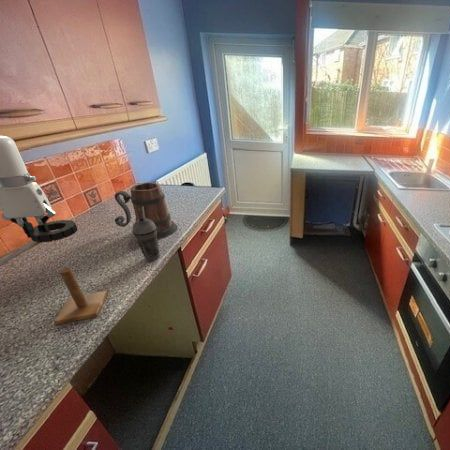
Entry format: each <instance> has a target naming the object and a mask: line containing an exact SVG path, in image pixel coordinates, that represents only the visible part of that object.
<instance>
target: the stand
mask: <svg viewBox="0 0 450 450" xmlns="http://www.w3.org/2000/svg"><path fill="white" fill-rule="evenodd" d="M58 272H59V276H61V279H62V280H63V282H64V285H65V286H66V289H67V290H68V292H69V294H70V296H69V297H68V298H67V300H66V302H65V303H64V305H63V307H62V308H61V310H60V311H59V313H58V314H57V316H56V317H55V319H54V321H53V322H54V324H55V325H61V324H66V323H71V322H72V323H73V322H77V321H81V320H86V319H92V318H97V317H99V315H100V312H101V310H102V308H103V305H104V303H105V301H106V299H107V297H108V294H109V293H108V290H103V291H97V292H91V293H85V294H83V291H82V289H81V287H80V285H79V282H78V281H77V278H76V277H75V275H74V273H73V271H72V268H71V267H65V268H62V269H60V270H59V271H58Z"/></svg>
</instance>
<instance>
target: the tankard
mask: <svg viewBox="0 0 450 450" xmlns="http://www.w3.org/2000/svg"><path fill="white" fill-rule="evenodd" d="M120 195H121V196H122V198H121V196H120ZM114 200H115V201H116V202H117V204H118V205H119V207H121V208H122V209H123V211H124V213H125V217H126V220H125V217H124V216H123V215H119V216H117V217H116V218H114V223H115V225H117V226H118V227H120V228H121V227H122V228H124V227H127V226H128V225H129V224H130V223H131V220H132V215H131V211H130V208H129V207H128V205H127V204H128V203H129V202H130V201H131V204H132V207H133V211H134V215H135V222H136V221H137V220H139V219H143V212H142V207H144V214H145V219H149V220H151V221H152V222H154V224H155V225H156V227H157V240H159V239H160V240H161V239H164V238H167V237H169V236H171V235H173V234H174V233H176V232H177V231H178V229H177V226H178V224H177V223H175V222H174V221H173V220H172V216H171V213H170V212H169V208H168V205H167V202H166V195H165V193H164V192H163V190H162V188H161V186H160V184H159V183H156V182H143V183H140V184H135V185H132V186H130V194H129V192H126V191H124V190H120V191H117V192H116V193H115V194H114ZM176 224H177V225H176Z"/></svg>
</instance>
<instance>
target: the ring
mask: <svg viewBox="0 0 450 450" xmlns="http://www.w3.org/2000/svg"><path fill="white" fill-rule="evenodd" d="M46 223H47V225H48V228H49V232H40V231H39V230H38V227H37V226H38V225H35V226H33V227H34V228H32V229H31V230H29V235H30V237H31V238H30V239H31V241H32V242H35V243H51V242H55V241H59V240H63V239H65V238H68V237H70V236H73V235H74V234H76V232H78V226H77V224H76V222H75V221H74V220H71V219H61V220H60V219H58V220H51V221H47V222H46Z"/></svg>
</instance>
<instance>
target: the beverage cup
mask: <svg viewBox="0 0 450 450" xmlns="http://www.w3.org/2000/svg"><path fill="white" fill-rule="evenodd" d="M142 212H143V219H139V220H137V221H136V220H135V222H134V223H133V225H132V234H133V236H134V238H135V240H136V241H137V243H138V247H139V248H140V250H141V253H142V255H143V258H144V259H145V261H146V262H154V261H157V260H158V259H160V258H161V257H160V249H159V248H160V247H159V242H158V239H157V227H156V225H155V224H154V222H152V221H151V220H149V219H145V214H144V207H142Z"/></svg>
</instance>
